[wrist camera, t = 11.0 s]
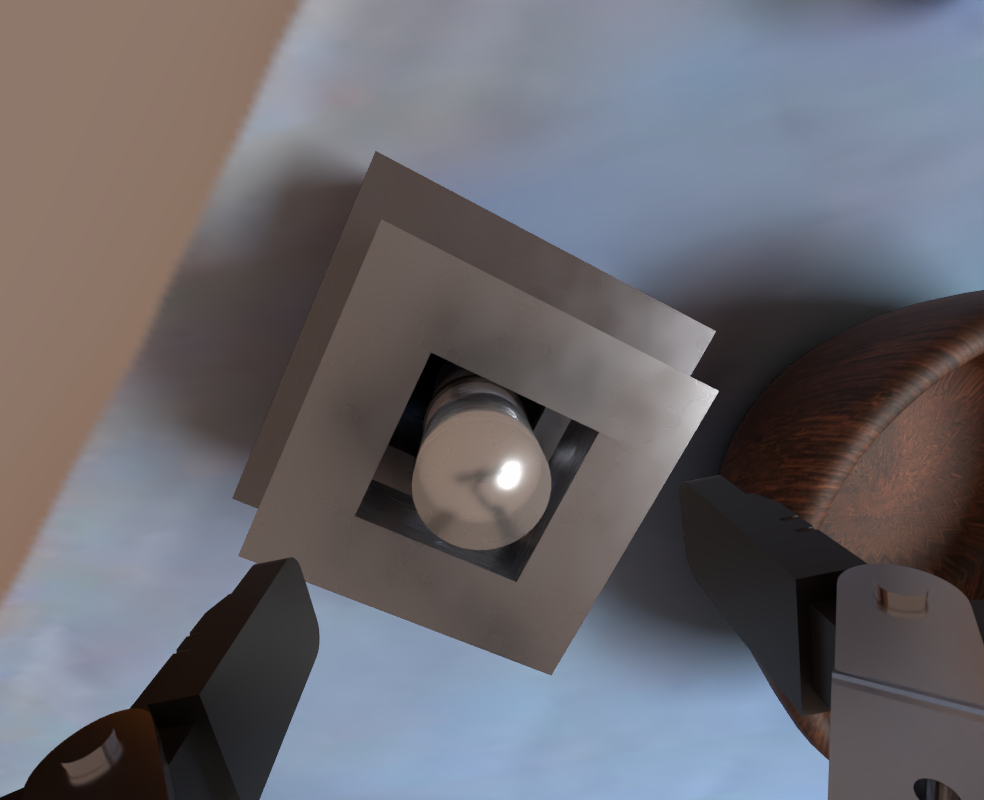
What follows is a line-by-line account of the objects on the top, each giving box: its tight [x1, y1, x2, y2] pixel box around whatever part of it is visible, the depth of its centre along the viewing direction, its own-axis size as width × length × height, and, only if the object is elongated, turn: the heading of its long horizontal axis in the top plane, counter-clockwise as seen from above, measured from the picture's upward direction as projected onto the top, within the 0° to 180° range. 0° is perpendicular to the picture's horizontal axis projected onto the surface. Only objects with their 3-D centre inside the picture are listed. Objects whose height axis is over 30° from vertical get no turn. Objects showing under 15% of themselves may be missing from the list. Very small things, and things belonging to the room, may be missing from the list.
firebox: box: [233, 151, 719, 675], centre depth 22 cm, size 16×16×13 cm
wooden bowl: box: [719, 290, 984, 760], centre depth 26 cm, size 25×25×10 cm
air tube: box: [412, 361, 551, 550], centre depth 21 cm, size 4×4×14 cm
